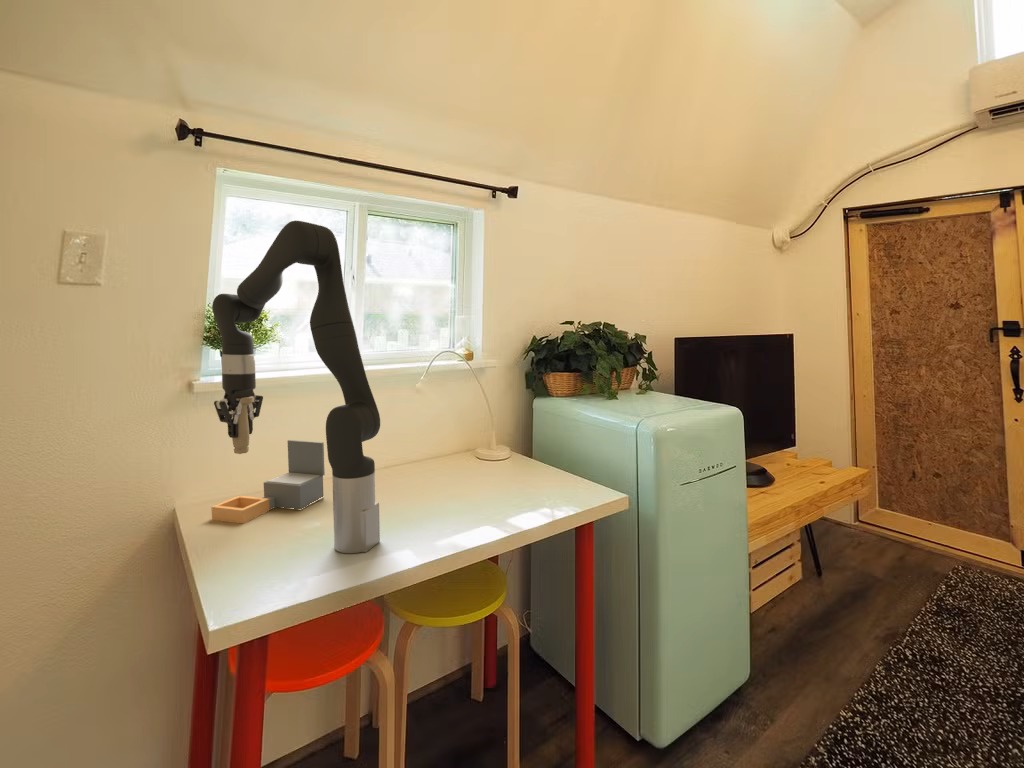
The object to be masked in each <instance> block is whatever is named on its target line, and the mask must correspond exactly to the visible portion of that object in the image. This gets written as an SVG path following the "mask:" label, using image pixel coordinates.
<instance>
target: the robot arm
mask: <svg viewBox="0 0 1024 768" xmlns="http://www.w3.org/2000/svg"><path fill="white" fill-rule="evenodd" d="M338 245H339V244H338V240H337V238H336V236H335V234H334V232H333V231H332V229H330V228H328V227H327V226H325V225H324V226H323V225H321V224H320V225H319V224H315V223H311V222H306V221H302V220H291V221H289V222H288V223H286V224H285V225H284V226H283V227H282V229H281V230H280V231H279V233H278V234H277V236H276V237H275V239H273V242H272V244H271V245H270V247H269V248H268V250H267V251H266V253H265V255H264V256H263V258H262V259H261V261H260V263H258V265H257V266H256V268H255V269H254V270H253V271H252V272H251V273H250V274H249V275H248V276H246V278H244V280H243V281H241V282H240V283H239V285H238V286H237V289H236V294H232V293H219V294H218V295H216V296H215V297H214V299H213V301H212V305H211V307H212V313H213V317H214V319H215V322H216V325H217V328H218V331H219V334H220V337H221V350H222V351H221V352H222V353H221V354H222V357H221V382H222V383H221V384H222V385H221V387H222V389H223V391H224V395H223V398H222V399H220V400H214V401H213V405H214V408H215V411H216V413H217V417H218V419H219V421H220V422H221V423H226V424H227V436H228V437H229V438H231V439H232V438H237V437H238V424H236V423H237V421H238V416H239V415H240V414H241V408H242V405H241V398H244V397H250V396H253V397H254V401H253V402H252V403H250V404H249V405H248V406H247V412H248V423H249V435H252V434H253V430H254V427H253V426H254V425H253V423H254V422H253V421H254V419H255V418H258V417H259V416H260V413H261V409H262V404H263V400H264V396H263V395H259V394H258V395H257V394H255V392H254V390H255V389H256V387H257V385H256V384H257V383H256V381H257V380H256V361H255V355H254V354H255V353H254V350H255V349H254V337H253V335H252V334H251V333H250V332H247V331H245V330H244V331H243V330H240V329H239V328H238V327H237V324H236V323H253V322H255V321H256V320H257V321H258V319H259V318H260V316H261V315H262V312H263V310H264V308H265V305H266V304H267V303H268V302H269V301H270V300H272V298H273V297H275V295H277V294H278V293H279V291H280V290H281V288H282V285H283V279H284V278H283V277H284V276H283V272H284V271H285V270H287V268H289V267H291V266H293V265H294V264H300V265H308V266H313V267H314V270H315V273H316V279H317V284H318V291H317V296H316V299H315V302H314V304H313V308H312V310H311V314H310V318H309V327H310V331H311V336H312V339H313V344H314V347H315V350H316V353H317V355H318V356H319V358H320V359H321V362H323V364H324V365H325V367H327V369H328V370H329V372H330V373H331V374H332V375H333V377H334V378H335V379H336V381H337V382H338V384H339V386H340V389H341V392H342V396H343V398H344V399H343V400H344V404H342V405H338V406H335V407H334V408H332V409H331V410H330V411H329V412H328V414H327V416H326V421H325V439H326V452H327V459H328V463H329V465H330V467H331V473H332V504H333V505H332V507H333V535H334V536H333V537H334V538H333V539H334V540H333V542H334V543H333V544H334V549H335V551H336V552H339V553H342V554H357V553H367V552H369V551H370V550H371V549H372V548H373V547H375V546H376V545H377V544H378V543H379V542H380V541H381V535H380V534H381V533H380V532H381V529H380V528H381V527H380V526H381V523H380V503H379V502H377V501H376V468H375V467H376V466H375V465H376V463H375V460H374V459H373V458H372V457H370V456H365V455H364V450H363V443H364V442H366V441H369V440H372V439H374V438H375V437H376V436H377V435H378V433H379V431H380V428H381V416H380V412H379V409H378V405H377V404H376V400H375V397H374V395H373V392H372V389H371V387H370V384H369V381H368V377H367V374H366V371H365V366H364V363H363V359H362V355H361V351H360V349H359V348H360V347H359V343H358V338H357V333H356V328H355V326H354V321H353V319H352V314H351V311H350V307H349V303H348V297H347V293H346V288H345V284H344V283H345V282H344V277H343V270H342V263H341V255H340V254H341V253H340V249H339V246H338ZM237 398H240V399H239V401H238V400H236V399H237ZM236 403H237V404H236ZM233 410H236V411H234V412H233ZM232 416H233V419H232Z"/></svg>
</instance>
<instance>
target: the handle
mask: <svg viewBox="0 0 1024 768" xmlns="http://www.w3.org/2000/svg"><path fill="white" fill-rule="evenodd" d="M239 399H240V398H237V399H236V400H238V401H239ZM253 401H254V397H253V396H250V397H244V398H241V405H242V408H241V414H240V415H239V416H238V421H237V423H236V424H238V437H237V438H231V439H232V440H231V441H232V446H233V452H234V454H237V455H242V454H247V453H248V452H249V445H250V434H249V423H248V412H247V406H248V405H249V404H250V403H252V402H253ZM236 404H237V403H236ZM232 411H233V412H234V411H236V410H232ZM232 419H233V415H232Z"/></svg>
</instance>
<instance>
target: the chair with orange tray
mask: <svg viewBox="0 0 1024 768" xmlns="http://www.w3.org/2000/svg"><path fill="white" fill-rule="evenodd" d="M324 446H325V443H324V442H323V441H322V442H320V441H310V440H309V441H306V440H294V439H289V440H287V462H288V472H287V473H283V474H281V475H279V476H277V477H274V478H271V479H269V480H266V481H264V482H263V493H264V495H263V497H257V496H249V495H248V496H247V495H237V496H235V497H232V498H229V499H227V500H225V501H223V502H222V501H221V502H220V503H218V504H215V505H212V506H211V507H210V508H211V519H212V521H219V520H220V521H222V522H227V521H228V522H230V523H235V522H236V524H246V523H247V522H249V520H250V521H251V519H252V520H254V519H256V518H258V517H260V516H262V515H264V514H266V513H268V512H270V511H271V510H272V509H271V508H273V507H284V508H294V509H302V508H304V507H306V506H307V505H309V504H310V503H312V502H314V501H316V500H318V499H319V498H321V497H323V496H324V476H325V449H324V448H325V447H324ZM284 508H283V509H284ZM306 508H307V507H306ZM270 509H271V510H270ZM273 509H274V508H273ZM304 509H305V508H304ZM269 510H270V511H269ZM302 510H303V509H302ZM267 511H268V512H267ZM265 512H266V513H265ZM263 513H264V514H263ZM261 514H262V515H261ZM259 515H260V516H259ZM257 516H258V517H257ZM253 518H254V519H253ZM228 522H227V523H228Z"/></svg>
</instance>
